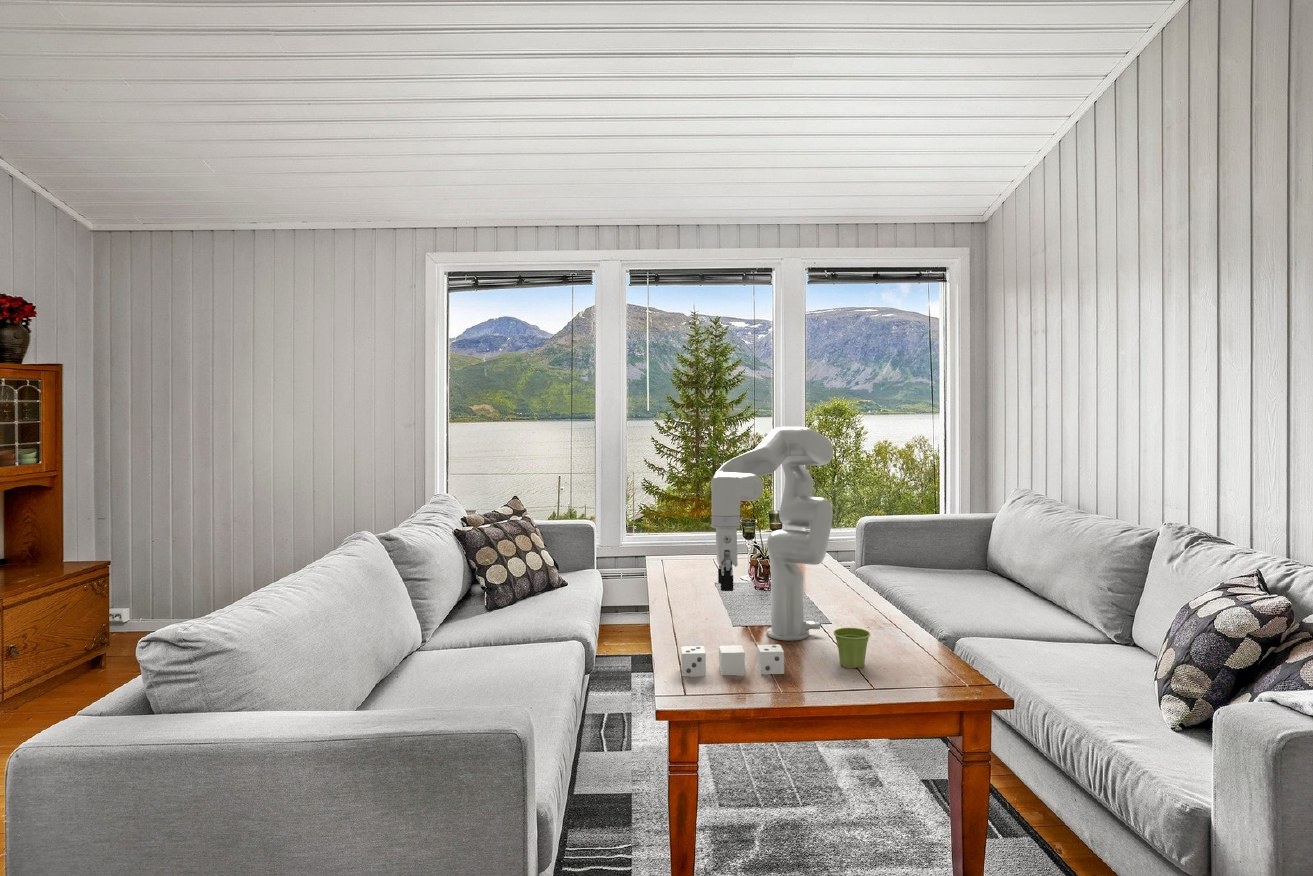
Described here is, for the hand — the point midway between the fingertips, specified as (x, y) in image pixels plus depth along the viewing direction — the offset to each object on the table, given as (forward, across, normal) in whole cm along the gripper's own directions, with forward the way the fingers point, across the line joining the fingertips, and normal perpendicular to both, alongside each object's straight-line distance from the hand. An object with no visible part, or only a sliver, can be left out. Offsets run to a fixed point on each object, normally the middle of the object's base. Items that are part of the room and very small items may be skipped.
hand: (725, 587), depth 204 cm
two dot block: (+21, -3, -12) cm, 24 cm away
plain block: (+22, -3, -2) cm, 22 cm away
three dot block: (+22, -3, +8) cm, 24 cm away
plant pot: (+21, +1, -33) cm, 39 cm away
